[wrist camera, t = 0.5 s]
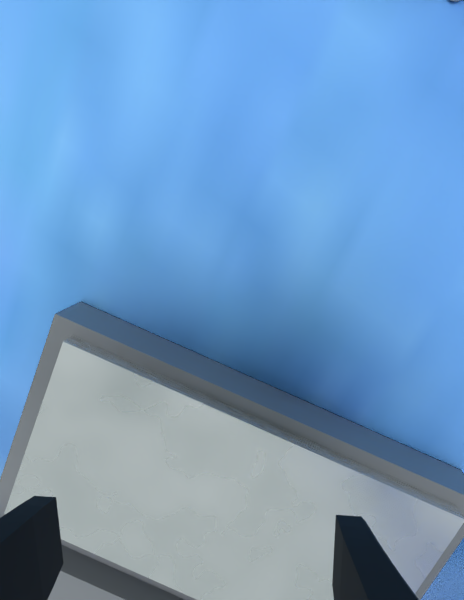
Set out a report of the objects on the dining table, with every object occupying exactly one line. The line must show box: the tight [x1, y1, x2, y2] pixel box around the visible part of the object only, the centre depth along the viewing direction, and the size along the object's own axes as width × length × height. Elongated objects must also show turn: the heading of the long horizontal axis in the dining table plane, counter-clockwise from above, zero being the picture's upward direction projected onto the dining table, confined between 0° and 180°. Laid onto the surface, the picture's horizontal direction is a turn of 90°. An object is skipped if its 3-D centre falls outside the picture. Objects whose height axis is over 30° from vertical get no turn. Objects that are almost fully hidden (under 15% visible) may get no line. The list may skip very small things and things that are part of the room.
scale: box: [0, 302, 464, 600], centre depth 20 cm, size 14×20×4 cm
